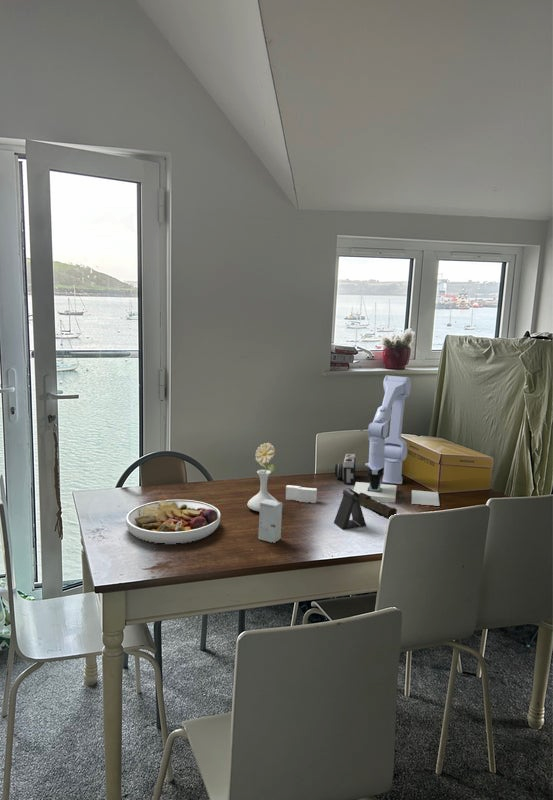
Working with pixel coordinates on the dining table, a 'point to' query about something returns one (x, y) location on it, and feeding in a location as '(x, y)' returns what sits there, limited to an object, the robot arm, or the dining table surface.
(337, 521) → the phone stand
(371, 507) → the dark brown wooden bar
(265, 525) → the skincare box
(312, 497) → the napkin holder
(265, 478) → the flower in vase
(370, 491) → the teal rectangular block
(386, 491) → the plate
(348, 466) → the camera
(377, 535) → the dining table surface
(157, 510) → the bowl
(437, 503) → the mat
